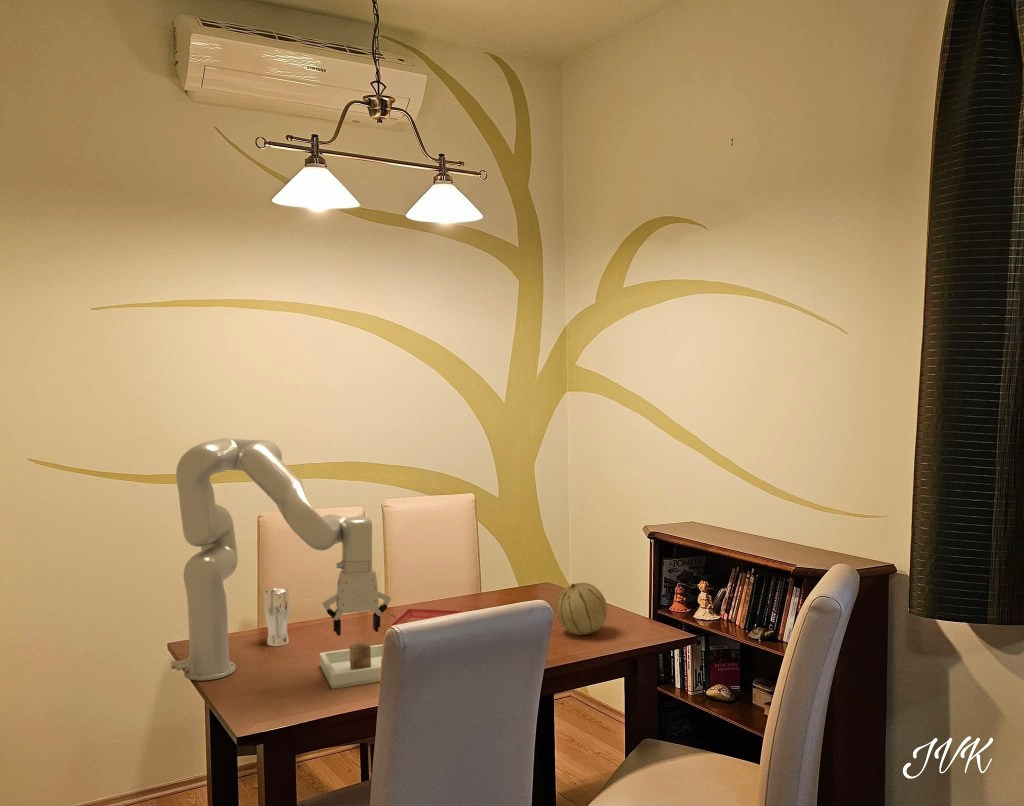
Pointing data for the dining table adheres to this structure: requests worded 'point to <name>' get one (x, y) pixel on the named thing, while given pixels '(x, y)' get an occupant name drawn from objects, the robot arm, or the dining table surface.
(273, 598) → the beer glass
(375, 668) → the tray
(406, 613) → the plant saucer
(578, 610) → the cantaloupe
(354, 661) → the block
